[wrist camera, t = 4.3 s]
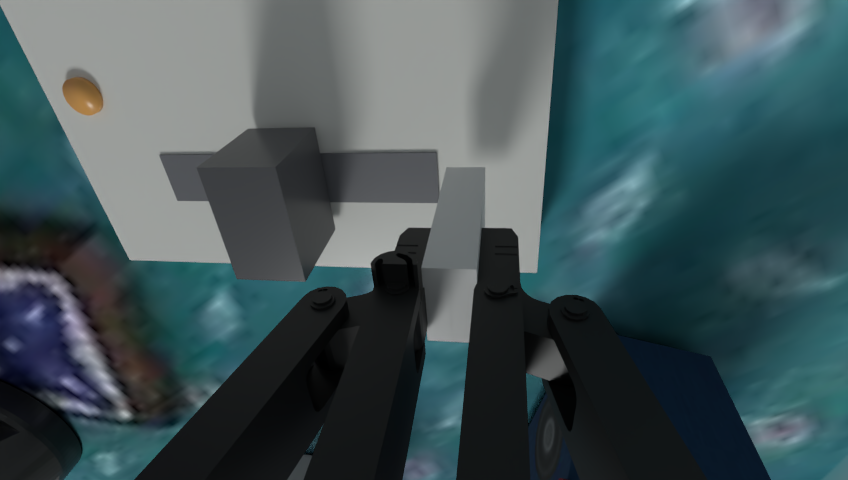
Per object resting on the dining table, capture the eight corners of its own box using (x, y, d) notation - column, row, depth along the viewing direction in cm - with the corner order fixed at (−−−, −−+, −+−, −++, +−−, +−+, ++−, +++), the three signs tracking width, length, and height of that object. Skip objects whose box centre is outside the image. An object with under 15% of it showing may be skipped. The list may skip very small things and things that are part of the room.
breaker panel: (162, 231, 28) (125, 263, 25) (-113, -392, 15) (-249, -464, 12) (533, 238, 25) (537, 276, 22) (590, -563, 12) (617, -716, 9)
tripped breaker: (276, 228, 22) (236, 278, 19) (248, 128, 20) (196, 167, 16) (335, 229, 22) (305, 281, 19) (314, 127, 19) (275, 167, 16)
